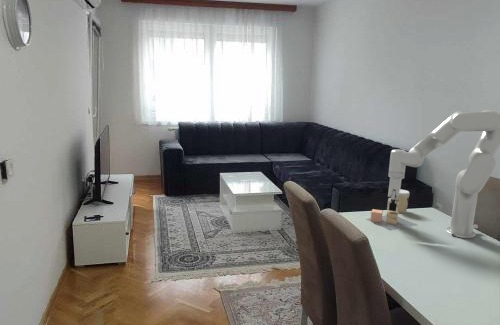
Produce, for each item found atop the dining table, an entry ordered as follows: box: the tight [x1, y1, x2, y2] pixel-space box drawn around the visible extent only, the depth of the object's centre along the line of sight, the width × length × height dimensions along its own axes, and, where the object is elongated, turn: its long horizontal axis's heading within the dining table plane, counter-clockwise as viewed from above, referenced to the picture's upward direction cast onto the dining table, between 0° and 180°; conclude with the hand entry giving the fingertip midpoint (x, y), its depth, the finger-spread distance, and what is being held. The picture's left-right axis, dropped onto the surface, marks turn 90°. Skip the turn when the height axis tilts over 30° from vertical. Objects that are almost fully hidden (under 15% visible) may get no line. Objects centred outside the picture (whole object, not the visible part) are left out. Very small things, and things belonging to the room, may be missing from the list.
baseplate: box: [365, 215, 418, 231], centre depth 203 cm, size 19×17×1 cm
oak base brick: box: [386, 210, 399, 224], centre depth 202 cm, size 5×5×5 cm
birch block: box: [386, 197, 399, 213], centre depth 201 cm, size 5×5×5 cm
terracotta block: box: [370, 208, 384, 223], centre depth 204 cm, size 5×5×5 cm
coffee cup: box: [395, 188, 411, 214], centre depth 221 cm, size 9×9×12 cm
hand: (392, 208), depth 201 cm, fingers closed on birch block, 4 cm apart
